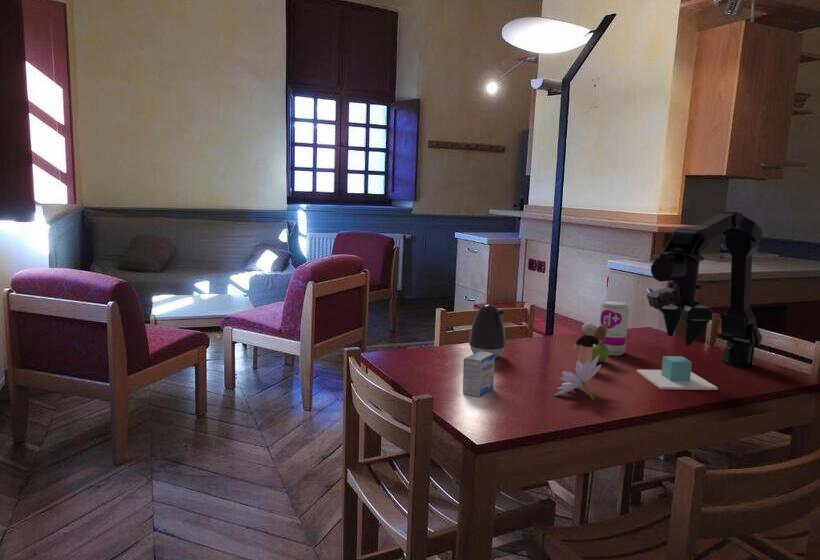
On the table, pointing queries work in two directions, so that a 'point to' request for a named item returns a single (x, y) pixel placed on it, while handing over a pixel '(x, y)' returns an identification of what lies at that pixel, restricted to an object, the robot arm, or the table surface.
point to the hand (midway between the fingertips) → (678, 340)
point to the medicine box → (478, 373)
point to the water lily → (579, 376)
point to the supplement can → (614, 325)
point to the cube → (676, 368)
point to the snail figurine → (600, 335)
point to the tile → (664, 383)
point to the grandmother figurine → (586, 343)
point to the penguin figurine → (488, 331)
